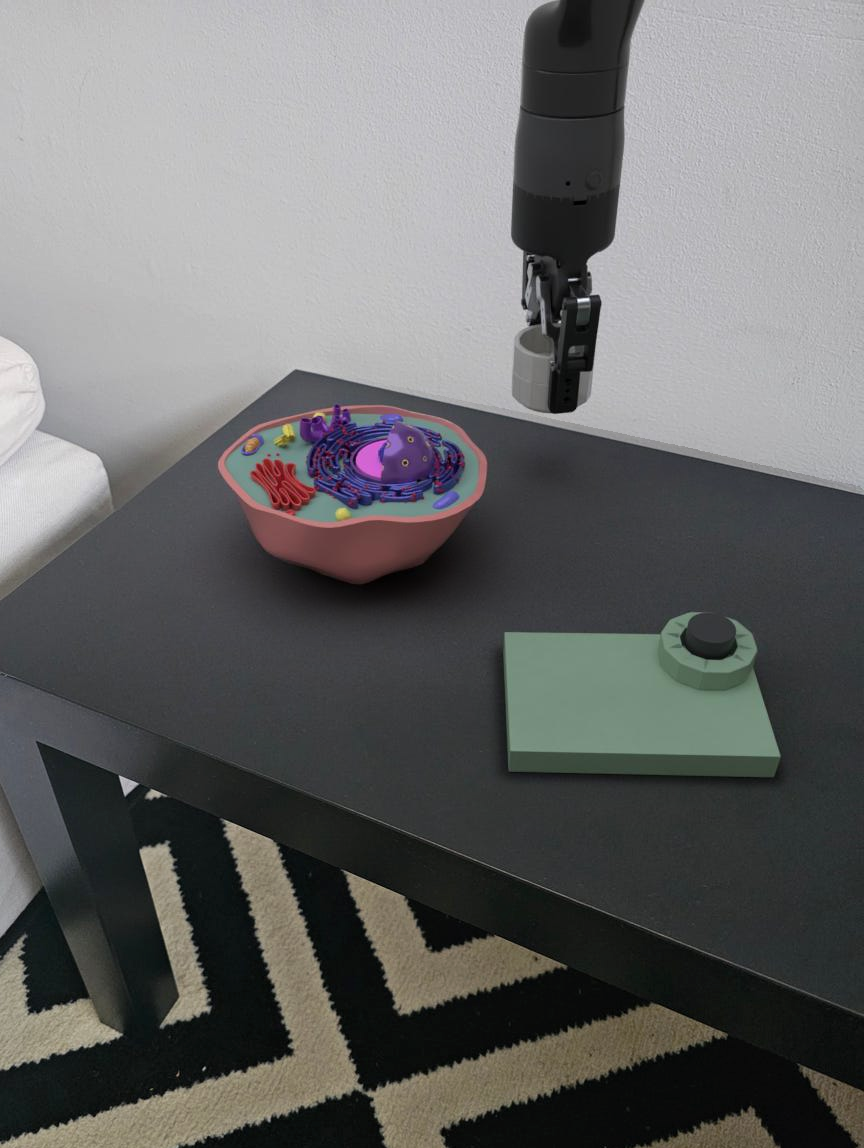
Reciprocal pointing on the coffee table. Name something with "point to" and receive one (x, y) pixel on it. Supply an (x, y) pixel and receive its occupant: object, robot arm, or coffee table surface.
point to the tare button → (710, 636)
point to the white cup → (538, 370)
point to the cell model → (355, 487)
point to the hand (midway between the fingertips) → (551, 389)
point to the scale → (635, 705)
